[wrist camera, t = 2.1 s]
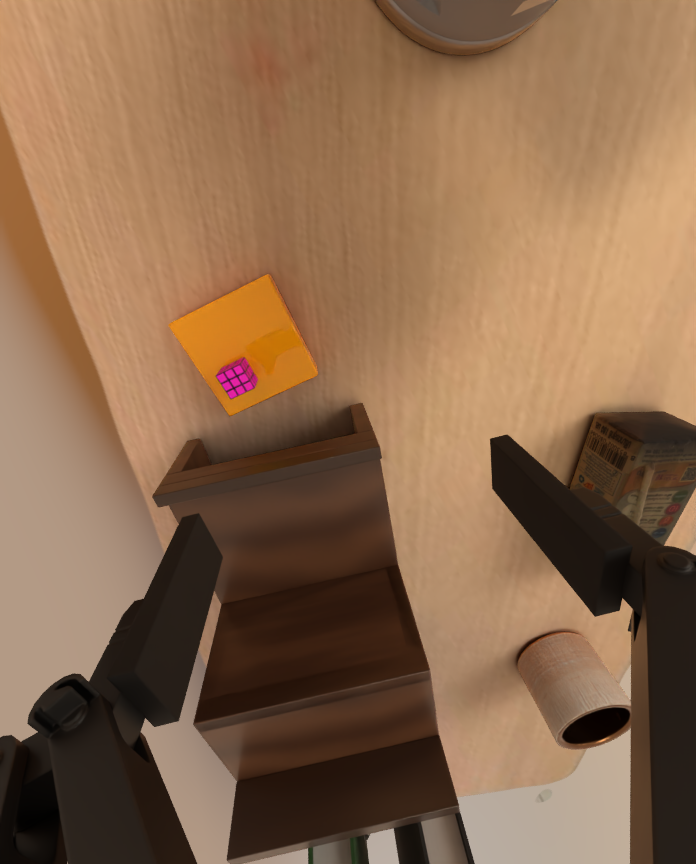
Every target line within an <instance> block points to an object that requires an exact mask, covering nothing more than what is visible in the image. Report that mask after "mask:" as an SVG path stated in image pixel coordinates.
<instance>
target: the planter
mask: <svg viewBox="0 0 696 864" xmlns="http://www.w3.org/2000/svg"><path fill="white" fill-rule="evenodd" d="M518 670H519V672H520V674H521V676H522V678H523V680H524V682H525V684H526V686H527V688H528V690H529V691H530V693H531V695H532V697H533V699H534V701H535V702H536V704H537V706H538V708H539V710H540V712H541V714H542V716H543V717H544V719H545V721H546V723H547V725H548V727H549V729H550V731H551V733H552V735H553V737H554V738H555V740H556V742H557V744H558V745H559V746H561V747H563V748H566V749H575V750H576V749H587V748H591V747H596V746H599V745H602V744H605V743H607V742H610V741H612V740H614V739H616V738H618V737H619V736H621V735H622V734H624V733H625V732H627V731H628V730H629V729H630V728H631V700H630V699H629V698H628V696H627V695H626V694H625V692H624V691H623V689H622V688H621V687H620V685H619V684H618V682H617V681H616V680H615V678H614V677H613V675H612V674H611V673H610V671H609V670H608V668H607V667H606V666H605V664H604V663H603V661H602V660H601V659H600V657H599V656H598V654H597V653H596V652H595V650H594V649H593V647H592V646H591V645H590V643H589V642H588V641H587V640H586V639H585V638H584V637H583V636H581V635H579V634H576V633H571V632H557V633H552V634H548V635H545V636H543V637H541V638H539V639H537V640H535V641H533V642H532V643H531V644H530V645H528V646H527V647H526V648H525V649H524V651H523V652H522V654H521V655H520V657H519V660H518Z"/></svg>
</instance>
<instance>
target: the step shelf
mask: <svg viewBox="0 0 696 864" xmlns="http://www.w3.org/2000/svg"><path fill="white" fill-rule="evenodd" d="M350 411H351V416H352V421H353V426H354V431H355V434H352V435H347V436H343V437H338V438H334V439H329V440H325V441H320V442H315V443H311V444H306V445H302V446H297V447H293V448H288V449H283V450H279V451H274V452H270V453H265V454H261V455H256V456H251V457H247V458H242V459H238V460H233V461H228V462H224V463H219V464H215V465H212V464H211V462H210V460H209V458H208V455H207V453H206V451H205V448H204V446H203V444H202V441H201V439H195V440H190V441H187V443H186V444H185V446H184V447H183V449H182V450H181V452H180V454H179V455H178V457H177V458H176V460H175V461H174V463H173V465H172V466H171V468H170V469H169V471H168V473H167V474H166V476H165V477H164V479H163V480H162V482H161V484H160V485H159V487H158V488H157V490H156V491H155V493H154V495H153V496H152V497H153V499H154V501H155V502H156V504H157V506H158V507H163V506H167V505H169V507H170V509H171V510H172V512H173V514H174V516H175V518H176V520H177V522H178V524H179V523H180V521H181V519H182V517H185V516H189V515H193V514H197V513H199V514H200V516H201V517H202V519H203V521H204V523H205V525H206V527H207V528H208V530H209V532H210V534H211V536H212V537H213V539H214V541H215V543H216V545H217V547H218V548H219V550H220V552H221V554H222V556H223V560H222V563H221V567H220V571H219V574H218V578H217V582H216V585H215V589H214V591H215V593H216V595H217V597H218V599H219V601H220V602H221V604H222V605H221V609H220V614H219V618H218V622H217V626H216V630H215V635H214V639H213V643H212V647H211V651H210V656H209V660H208V664H207V668H206V673H205V677H204V681H203V685H202V689H201V693H200V699H199V702H198V707H197V710H196V715H195V719H194V723H193V725H194V726H195V728H196V729H197V730H198V732H199V733H200V734H201V735H202V737H203V738H204V739H205V741H206V742H207V743H208V744H209V746H210V747H211V748H212V750H213V751H214V752H215V753H216V755H217V756H218V757H219V759H220V760H221V761H222V762H223V764H224V765H225V766H226V768H227V769H228V770H229V771H230V773H231V774H232V775H233V777H234V778H235V779H236V781H237V784H236V792H235V799H234V807H233V815H232V823H231V830H230V838H229V846H228V854H227V861H228V862H229V863H230V864H243V863H247V862H251V861H255V860H260V859H264V858H268V857H273V856H277V855H281V854H286V853H289V852H294V851H298V850H302V849H307V848H311V847H315V846H320V845H324V844H328V843H332V842H337V841H341V840H345V839H349V838H354V837H358V836H362V835H366V834H371V833H375V832H379V831H383V830H388V829H392V828H396V827H400V826H405V825H409V824H413V823H417V822H422V821H426V820H430V819H434V818H439V817H443V816H447V815H451V814H456V813H459V812H460V811H459V804H458V800H457V797H456V793H455V789H454V786H453V782H452V779H451V775H450V772H449V768H448V765H447V761H446V757H445V754H444V750H443V747H442V743H441V740H440V736H439V731H438V724H437V717H436V710H435V702H434V695H433V688H432V681H431V674H430V668H429V665H428V662H427V658H426V655H425V652H424V649H423V645H422V642H421V639H420V635H419V632H418V629H417V625H416V622H415V619H414V616H413V612H412V609H411V606H410V602H409V599H408V596H407V592H406V589H405V586H404V583H403V579H402V576H401V573H400V569H399V566H398V561H397V555H396V549H395V544H394V538H393V532H392V526H391V520H390V514H389V508H388V502H387V497H386V491H385V485H384V479H383V473H382V467H381V461H380V459H381V458H382V457H381V451H380V446H379V444H378V441H377V439H376V436H375V433H374V431H373V428H372V426H371V423H370V421H369V418H368V416H367V413H366V411H365V408H364V406H363V403H361V404H356V405H351V406H350Z"/></svg>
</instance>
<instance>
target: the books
mask: <svg viewBox="0 0 696 864" xmlns="http://www.w3.org/2000/svg"><path fill="white" fill-rule="evenodd" d="M459 811H460V810H459ZM394 833H395V839H396V845H397V851H398V858H399V864H474V860H473V856H472V853H471V849H470V846H469V842H468V839H467V835H466V831H465V828H464V824H463V821H462V817H461V814H460V812H459V813H456V814H451V815H447V816H443V817H439V818H434V819H430V820H426V821H422V822H417V823H413V824H409V825H405V826H400V827H396V828H394ZM369 835H370V834H366V835H362V836H358V837H354V838H349V839H345V840H341V841H337V842H332V843H328V844H324V845H320V846H315V847H311V848H308V859H309V860H308V864H369V859H368V850H367V841H366V840H367V839H368V837H369Z"/></svg>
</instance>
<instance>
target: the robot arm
mask: <svg viewBox="0 0 696 864" xmlns="http://www.w3.org/2000/svg"><path fill="white" fill-rule="evenodd" d="M375 1H376V3H377V4H378V6H379V7H380V9H381V10H382V11H383V12H384V14H385V15H386V16H387V17H388V18H389V20H390V21H391V22H392V23H393V24H394V25H395V26H396V27H397V28H398V29H400V30H401V31H402V32H403V33H404V34H406V35H407V36H408V37H410V38H411V39H413V40H414V41H416V42H417V43H419V44H421V45H423V46H425V47H427V48H429V49H432V50H435V51H438V52H442V53H446V54H453V55H471V54H479V53H483V52H486V51H490V50H493V49H495V48H498V47H500V46H503V45H504V44H506V43H508V42H510V41H512V40H513V39H515V38H516V37H518V36H519V35H521V34H522V33H524V32H525V31H526V30H527V29H528V28H530V27H531V26H532V25H533V24H534V23H535V22H537V21H538V20H539V19H540V18H541V17H542V16H543V14H544V13H545V12H546V11H547V10H548V9H549V8H550V7H551V6H552V5H553V4H554V3H555V2H556V1H557V0H375ZM490 446H491V468H492V489H493V490H494V491H495V492H496V494H497V495H498V496H499V497H500V499H501V500H502V501H503V502H504V504H505V505H506V506H507V507H508V509H509V510H510V511H511V512H512V514H513V515H514V516H515V517H516V519H517V520H518V521H519V522H520V524H521V525H522V526H523V527H524V529H525V530H526V531H527V532H528V534H529V535H530V536H531V537H532V539H533V540H534V541H535V542H536V544H537V545H538V546H539V547H540V549H541V550H542V551H543V552H544V554H545V555H546V556H547V557H548V559H549V560H550V561H551V562H552V564H553V565H554V566H555V567H556V569H557V570H558V571H559V572H560V574H561V575H562V576H563V577H564V579H565V580H566V581H567V582H568V584H569V585H570V586H571V587H572V588H573V590H574V591H575V592H576V593H577V595H578V596H579V597H580V598H581V600H582V601H583V602H584V603H585V605H586V606H587V607H588V608H589V610H590V611H591V612H592V613H593V615H594V616H595V617H596V616H600V615H604V614H608V613H612V612H616V611H620V606H621V601H622V598H623V599H624V600H625V601H626V602H627V603H628V604H629V605H630V606H631V608H632V609H633V611H632V615H631V619H630V624H629V628H628V631H630V632H631V792H630V793H631V794H630V796H631V797H630V798H631V799H630V800H631V801H630V864H696V556H695V555H693V554H691V553H690V552H688V551H686V550H682V549H679V548H676V547H671V546H663V545H662V544H661V543H659V542H658V541H657V540H656V539H654V538H653V537H652V536H651V535H650V534H648V533H647V532H646V531H645V530H643V529H642V528H641V527H640V526H638V525H637V524H636V523H635V522H633V521H632V520H631V519H630V518H629V517H627V516H626V515H625V514H622V512H621V511H620V510H619V509H617V508H616V507H615V506H612V504H611V503H610V502H609V501H608V500H606V499H605V498H604V497H603V496H601V495H600V494H599V493H596V492H594V491H592V490H590V489H587V488H585V487H580V488H576V489H572V490H569V489H568V488H567V487H566V486H565V485H564V484H563V483H561V482H560V481H559V480H558V479H557V478H556V477H555V476H554V475H552V474H551V473H550V472H549V471H548V470H547V469H546V468H545V467H543V466H542V465H541V464H540V463H539V462H538V461H537V460H536V459H534V458H533V457H532V456H531V455H530V454H529V453H528V452H526V451H525V450H524V449H523V448H522V447H521V446H520V445H519V444H517V443H516V442H515V441H514V440H513V439H512V438H511V437H510V436H508V435H503V436H499V437H495V438H491V439H490ZM222 560H223V556H222V554H221V552H220V550H219V548H218V547H217V545H216V543H215V541H214V539H213V537H212V536H211V534H210V532H209V530H208V528H207V527H206V525H205V523H204V521H203V519H202V517H201V516H200V514H199V513H197V514H193V515H189V516H185V517H182V519H181V521H180V523H179V525H178V527H177V529H176V531H175V533H174V536H173V538H172V540H171V542H170V544H169V546H168V548H167V550H166V553H165V555H164V557H163V559H162V561H161V564H160V565H159V567H158V570H157V572H156V574H155V576H154V578H153V580H152V582H151V584H150V587H149V589H148V591H147V593H146V595H145V597H144V599H141V600H137V601H134V603H133V604H132V605H131V606H130V607H129V608H128V610H127V611H126V612H125V613H124V614H123V616H122V618H121V620H120V622H119V624H118V626H117V628H116V629H115V630H116V632H115V633H114V634H113V636H112V637H111V639H110V641H109V645H107V647H106V649H105V651H104V653H103V655H102V657H101V659H100V661H99V663H98V665H97V667H96V669H95V671H94V673H93V675H92V677H91V679H90V681H89V682H88V681H87V680H86V679H85V678H84V677H83V676H82V675H81V674H71V675H68V676H65V677H63V678H62V679H60V680H59V681H57V682H55V683H54V684H53V685H51V686H50V687H49V688H48V689H47V690H46V691H45V692H44V693H43V694H42V695H41V696H40V698H39V699H38V700H37V701H36V703H35V704H34V706H33V708H32V710H31V712H30V714H29V717H28V724H29V725H30V726H31V727H32V728H34V729H35V730H36V731H38V733H36V734H34V735H32V736H31V737H29V738H27V739H25V740H23V741H22V742H20V741H19V740H18V739H16V738H15V737H13V736H12V735H9V736H2V737H1V738H0V864H67V861H68V864H197V862H196V860H195V857H194V855H193V852H192V850H191V847H190V845H189V842H188V840H187V838H186V835H185V833H184V830H183V828H182V825H181V823H180V821H179V818H178V816H177V813H176V811H175V808H174V807H173V804H172V801H171V799H170V796H169V794H168V791H167V789H166V787H165V784H164V782H163V779H162V777H161V774H160V772H159V770H158V767H157V765H156V763H155V760H154V757H153V755H152V753H151V750H150V748H149V745H148V743H147V741H146V738H145V736H144V735H143V734H142V733H141V732H140V731H141V728H142V726H143V723H144V719H145V718H146V719H147V720H148V721H149V722H150V723H151V724H152V725H153V726H154V727H156V726H160V725H164V724H169V723H172V722H177V721H179V718H180V714H181V710H182V707H183V703H184V699H185V696H186V692H187V688H188V684H189V681H190V677H191V673H192V670H193V666H194V662H195V659H196V655H197V651H198V648H199V644H200V640H201V637H202V633H203V629H204V626H205V622H206V618H207V615H208V611H209V607H210V604H211V600H212V596H213V593H214V589H215V585H216V582H217V578H218V574H219V571H220V567H221V563H222Z"/></svg>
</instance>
